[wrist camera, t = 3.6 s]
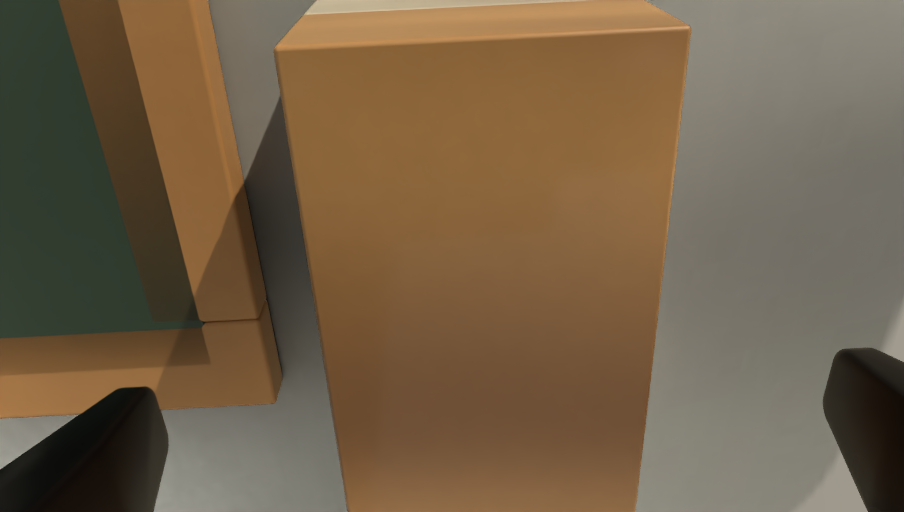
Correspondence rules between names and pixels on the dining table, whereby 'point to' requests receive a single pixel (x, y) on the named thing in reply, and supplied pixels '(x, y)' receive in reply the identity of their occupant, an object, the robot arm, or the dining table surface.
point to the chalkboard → (123, 213)
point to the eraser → (486, 241)
